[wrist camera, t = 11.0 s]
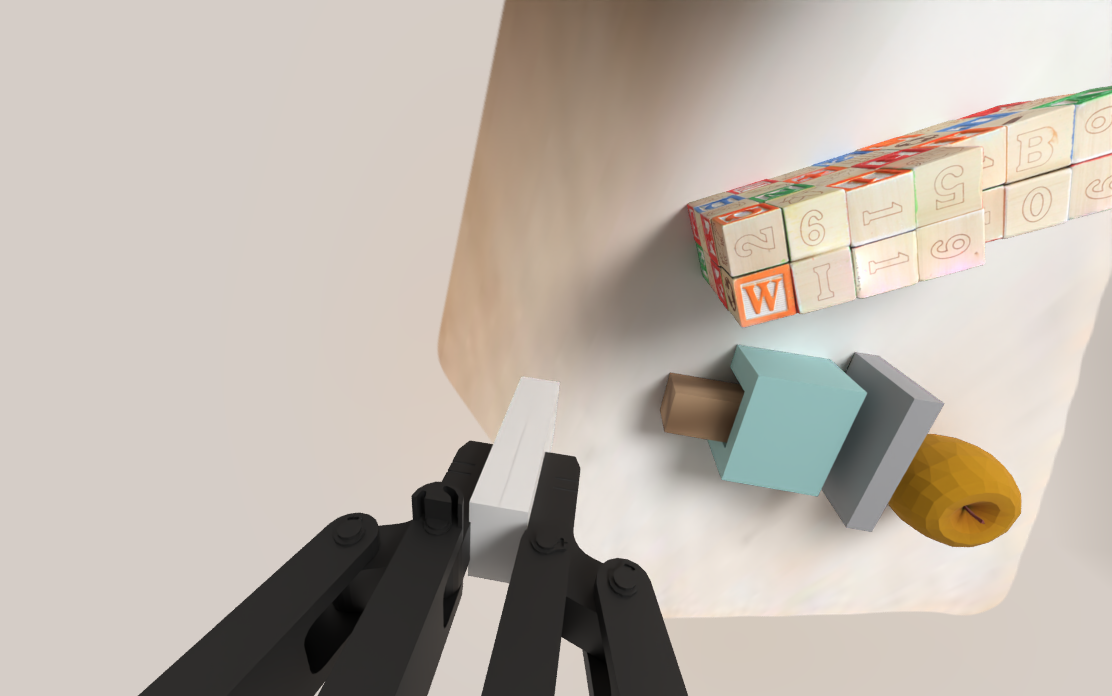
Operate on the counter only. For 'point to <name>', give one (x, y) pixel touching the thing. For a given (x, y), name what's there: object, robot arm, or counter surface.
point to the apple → (956, 493)
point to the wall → (878, 441)
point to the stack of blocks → (905, 207)
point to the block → (787, 420)
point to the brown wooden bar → (700, 407)
